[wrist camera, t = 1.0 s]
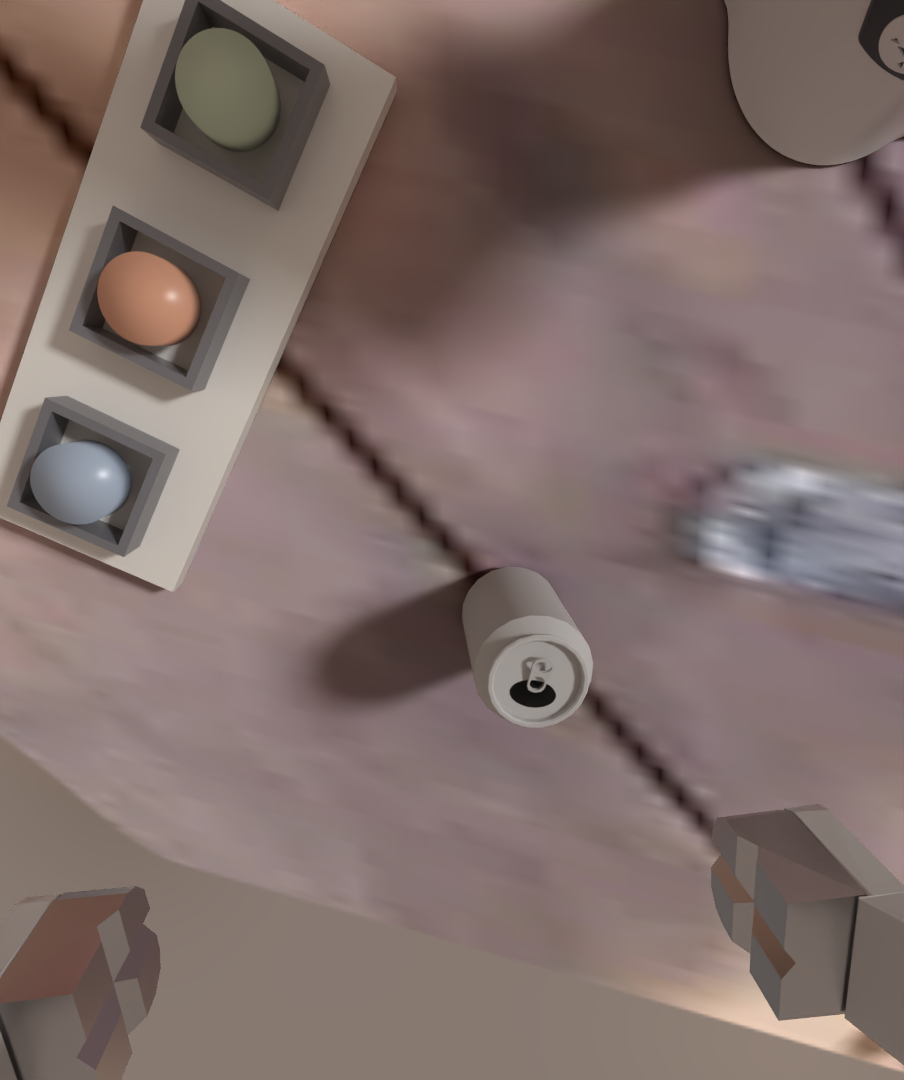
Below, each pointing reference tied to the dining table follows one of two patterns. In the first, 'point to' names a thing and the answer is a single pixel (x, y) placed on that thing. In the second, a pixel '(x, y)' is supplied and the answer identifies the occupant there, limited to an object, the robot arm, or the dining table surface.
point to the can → (524, 648)
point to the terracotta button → (148, 299)
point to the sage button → (228, 89)
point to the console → (210, 261)
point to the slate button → (80, 481)
